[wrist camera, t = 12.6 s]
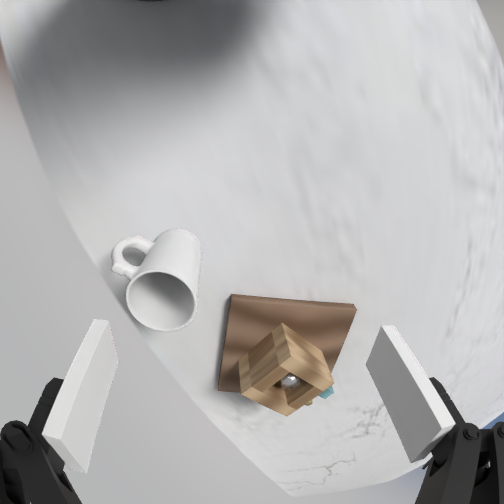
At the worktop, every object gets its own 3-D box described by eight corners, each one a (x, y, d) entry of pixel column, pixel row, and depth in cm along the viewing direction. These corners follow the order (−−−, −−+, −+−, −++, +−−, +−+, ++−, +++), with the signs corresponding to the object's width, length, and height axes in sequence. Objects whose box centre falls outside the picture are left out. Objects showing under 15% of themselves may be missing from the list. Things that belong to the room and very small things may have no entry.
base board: (231, 294, 41) (231, 299, 40) (353, 304, 44) (356, 309, 42) (218, 384, 48) (218, 390, 47) (319, 387, 50) (321, 393, 49)
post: (277, 348, 44) (284, 377, 38) (294, 349, 44) (302, 377, 39) (274, 360, 45) (280, 389, 39) (290, 361, 45) (297, 389, 40)
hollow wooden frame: (238, 359, 44) (241, 394, 38) (281, 322, 42) (291, 356, 36) (305, 397, 49) (313, 428, 43) (345, 367, 47) (358, 397, 41)
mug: (214, 244, 38) (211, 295, 27) (187, 284, 40) (175, 342, 29) (145, 201, 35) (113, 236, 24) (121, 244, 37) (86, 291, 26)
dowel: (302, 385, 48) (306, 401, 44) (308, 385, 48) (313, 400, 45) (300, 390, 48) (304, 405, 45) (306, 390, 48) (311, 405, 45)
